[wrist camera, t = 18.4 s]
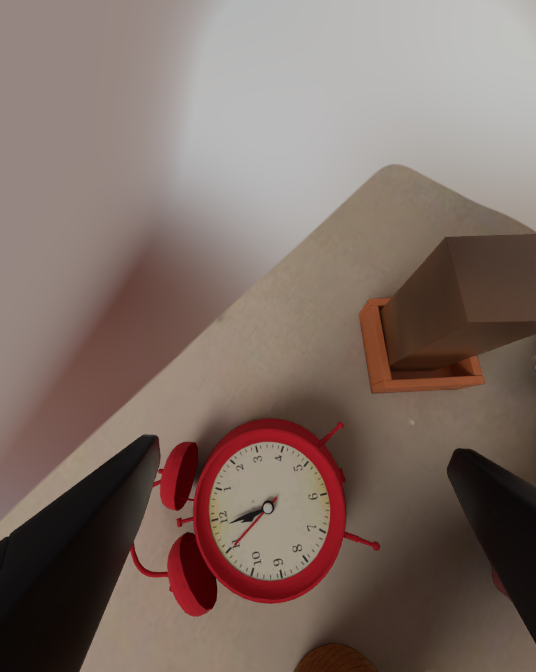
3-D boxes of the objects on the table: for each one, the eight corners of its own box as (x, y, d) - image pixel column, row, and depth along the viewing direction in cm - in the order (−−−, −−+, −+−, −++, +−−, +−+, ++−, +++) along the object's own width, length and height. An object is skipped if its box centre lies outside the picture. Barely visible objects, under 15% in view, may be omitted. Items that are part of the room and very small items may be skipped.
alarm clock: (401, 582, 15) (103, 716, 12) (350, 544, 21) (139, 625, 17) (342, 396, 19) (95, 454, 15) (312, 407, 24) (128, 451, 21)
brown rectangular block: (433, 371, 22) (574, 320, 12) (378, 371, 22) (467, 322, 12) (423, 319, 23) (540, 233, 13) (370, 321, 23) (445, 236, 13)
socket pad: (458, 389, 22) (485, 383, 19) (371, 393, 22) (385, 388, 19) (438, 309, 24) (459, 293, 21) (358, 313, 24) (369, 298, 22)
